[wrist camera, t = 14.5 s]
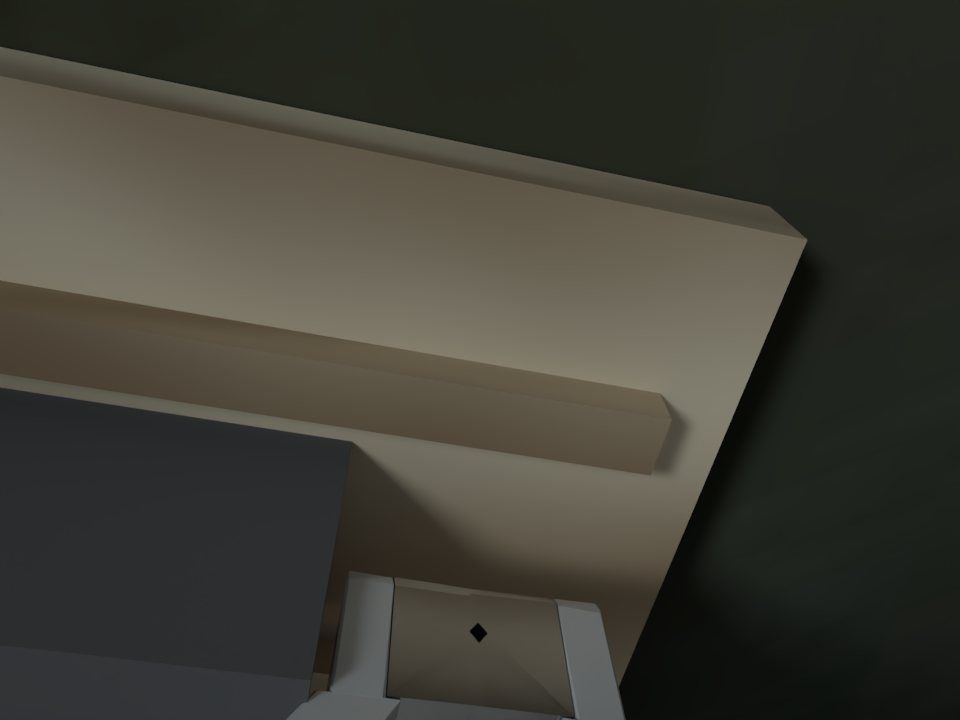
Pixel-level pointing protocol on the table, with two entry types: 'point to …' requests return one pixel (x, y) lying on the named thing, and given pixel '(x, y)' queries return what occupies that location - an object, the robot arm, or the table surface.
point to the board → (392, 322)
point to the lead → (159, 562)
